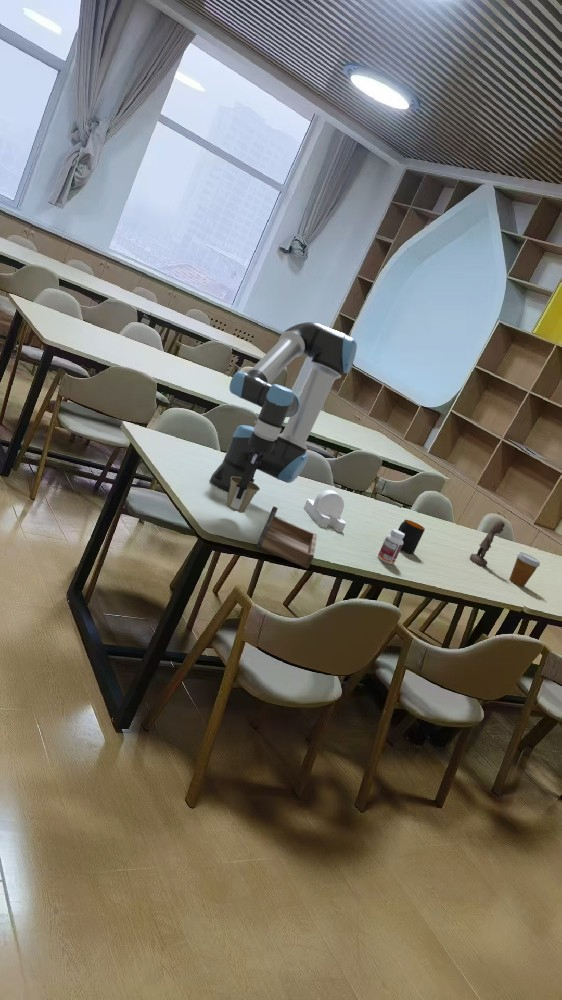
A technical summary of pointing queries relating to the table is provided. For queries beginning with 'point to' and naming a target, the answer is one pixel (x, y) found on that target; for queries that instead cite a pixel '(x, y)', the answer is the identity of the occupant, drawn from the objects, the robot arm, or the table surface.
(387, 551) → the pill bottle
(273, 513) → the wooden tray
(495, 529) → the figurine
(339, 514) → the bracket
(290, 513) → the table surface
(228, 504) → the flower pot
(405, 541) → the mug
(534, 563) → the disposable coffee cup
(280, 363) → the robot arm
